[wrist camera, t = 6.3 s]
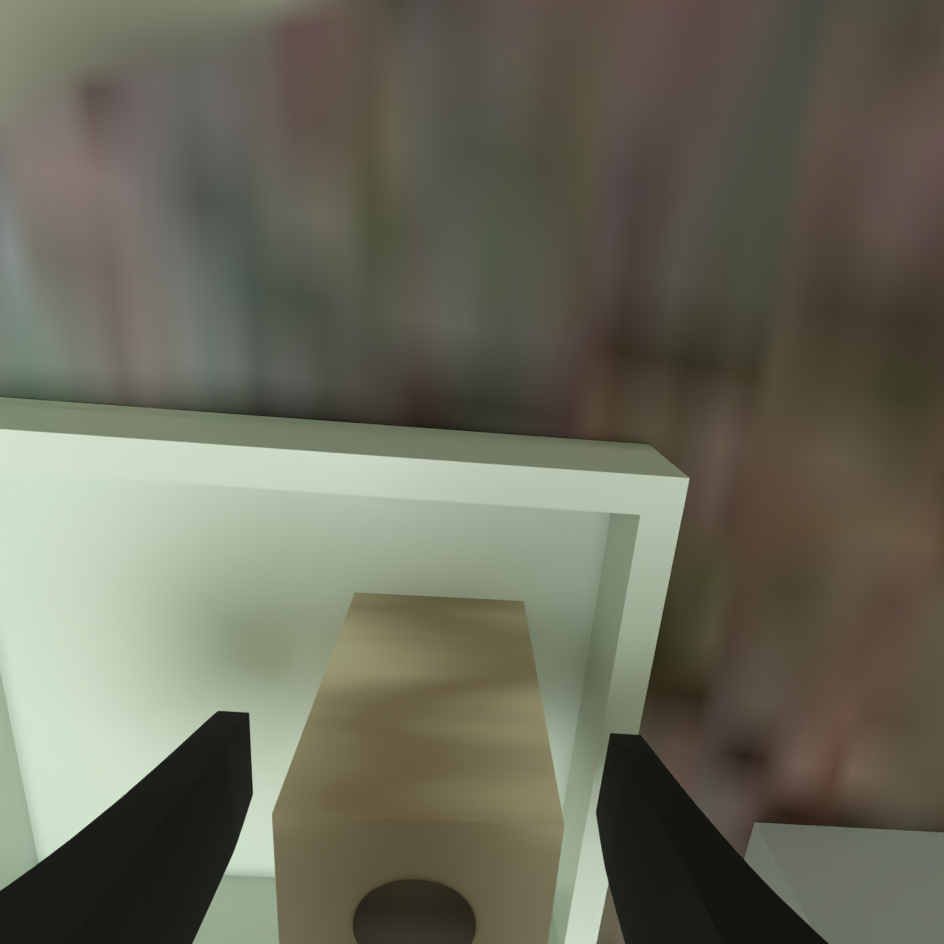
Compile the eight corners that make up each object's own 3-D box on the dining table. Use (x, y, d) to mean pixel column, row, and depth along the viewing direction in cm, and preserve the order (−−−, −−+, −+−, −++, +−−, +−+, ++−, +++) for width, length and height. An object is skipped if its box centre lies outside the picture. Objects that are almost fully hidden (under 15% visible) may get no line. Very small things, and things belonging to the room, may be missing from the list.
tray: (649, 444, 13) (689, 478, 11) (570, 891, 17) (587, 987, 15) (-68, 392, 13) (-194, 415, 10) (30, 865, 17) (-43, 960, 14)
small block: (523, 600, 14) (564, 829, 8) (509, 737, 15) (537, 1022, 9) (354, 592, 13) (270, 816, 8) (354, 731, 15) (282, 1014, 9)
